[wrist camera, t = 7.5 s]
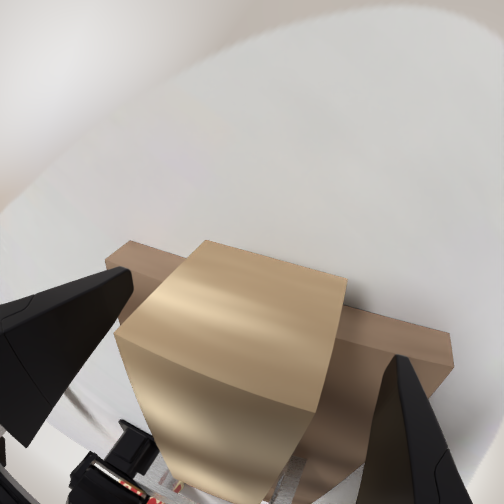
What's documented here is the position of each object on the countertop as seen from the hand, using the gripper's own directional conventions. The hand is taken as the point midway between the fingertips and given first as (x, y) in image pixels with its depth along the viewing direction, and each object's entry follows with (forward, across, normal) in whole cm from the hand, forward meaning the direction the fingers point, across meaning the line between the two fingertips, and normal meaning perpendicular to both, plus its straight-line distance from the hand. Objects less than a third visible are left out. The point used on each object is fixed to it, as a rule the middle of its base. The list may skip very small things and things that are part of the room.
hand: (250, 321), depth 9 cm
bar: (+2, 0, +5) cm, 6 cm away
